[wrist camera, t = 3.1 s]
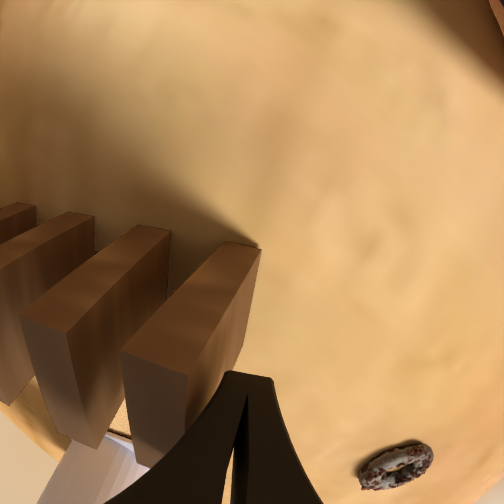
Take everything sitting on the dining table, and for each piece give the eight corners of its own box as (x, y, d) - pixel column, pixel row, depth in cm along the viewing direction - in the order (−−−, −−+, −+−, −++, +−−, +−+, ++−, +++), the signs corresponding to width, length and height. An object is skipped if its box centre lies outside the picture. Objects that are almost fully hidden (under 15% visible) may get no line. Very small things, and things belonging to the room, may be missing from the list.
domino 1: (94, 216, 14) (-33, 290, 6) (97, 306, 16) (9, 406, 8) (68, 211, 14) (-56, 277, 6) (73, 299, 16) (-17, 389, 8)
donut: (450, 449, 19) (456, 467, 17) (375, 488, 22) (377, 505, 20) (415, 416, 17) (423, 439, 15) (324, 463, 20) (325, 485, 18)
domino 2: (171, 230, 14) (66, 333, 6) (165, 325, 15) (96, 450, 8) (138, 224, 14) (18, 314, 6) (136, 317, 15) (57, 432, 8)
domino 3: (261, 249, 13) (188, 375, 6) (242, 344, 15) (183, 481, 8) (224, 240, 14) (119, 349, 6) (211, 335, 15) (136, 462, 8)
